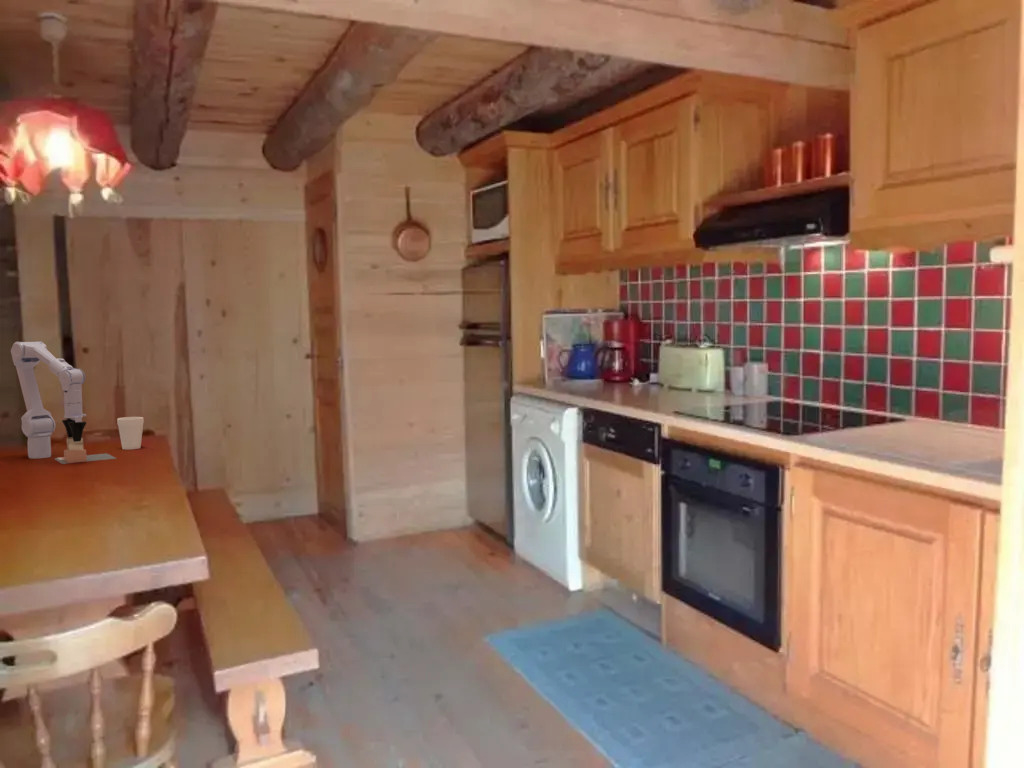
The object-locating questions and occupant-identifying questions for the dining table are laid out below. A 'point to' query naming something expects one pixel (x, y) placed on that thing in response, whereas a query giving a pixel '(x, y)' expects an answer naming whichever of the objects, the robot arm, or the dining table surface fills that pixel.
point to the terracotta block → (75, 456)
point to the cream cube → (74, 444)
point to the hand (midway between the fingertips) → (74, 440)
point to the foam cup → (130, 431)
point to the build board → (92, 458)
